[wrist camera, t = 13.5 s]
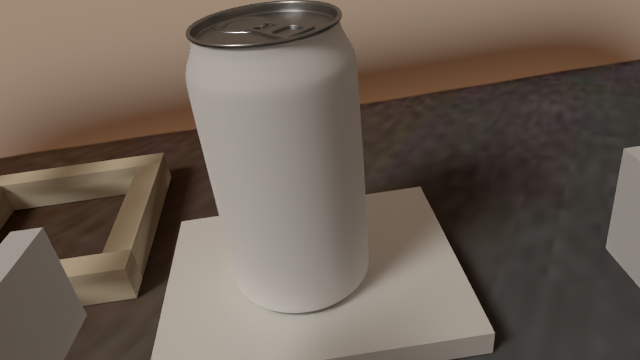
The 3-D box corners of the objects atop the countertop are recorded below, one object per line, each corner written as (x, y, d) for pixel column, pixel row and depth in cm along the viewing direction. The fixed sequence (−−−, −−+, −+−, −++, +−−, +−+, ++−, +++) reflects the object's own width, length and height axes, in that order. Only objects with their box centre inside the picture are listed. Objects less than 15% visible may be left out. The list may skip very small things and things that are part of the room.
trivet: (420, 203, 30) (420, 186, 29) (492, 352, 21) (494, 332, 20) (186, 237, 30) (181, 221, 29) (153, 406, 20) (144, 387, 20)
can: (299, 214, 28) (265, -8, 22) (396, 257, 25) (389, 4, 18) (209, 280, 24) (137, 34, 18) (308, 344, 21) (260, 61, 14)
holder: (171, 177, 36) (163, 152, 35) (136, 298, 26) (124, 268, 25) (1, 201, 36) (-12, 177, 34) (-102, 333, 25) (-125, 305, 24)
